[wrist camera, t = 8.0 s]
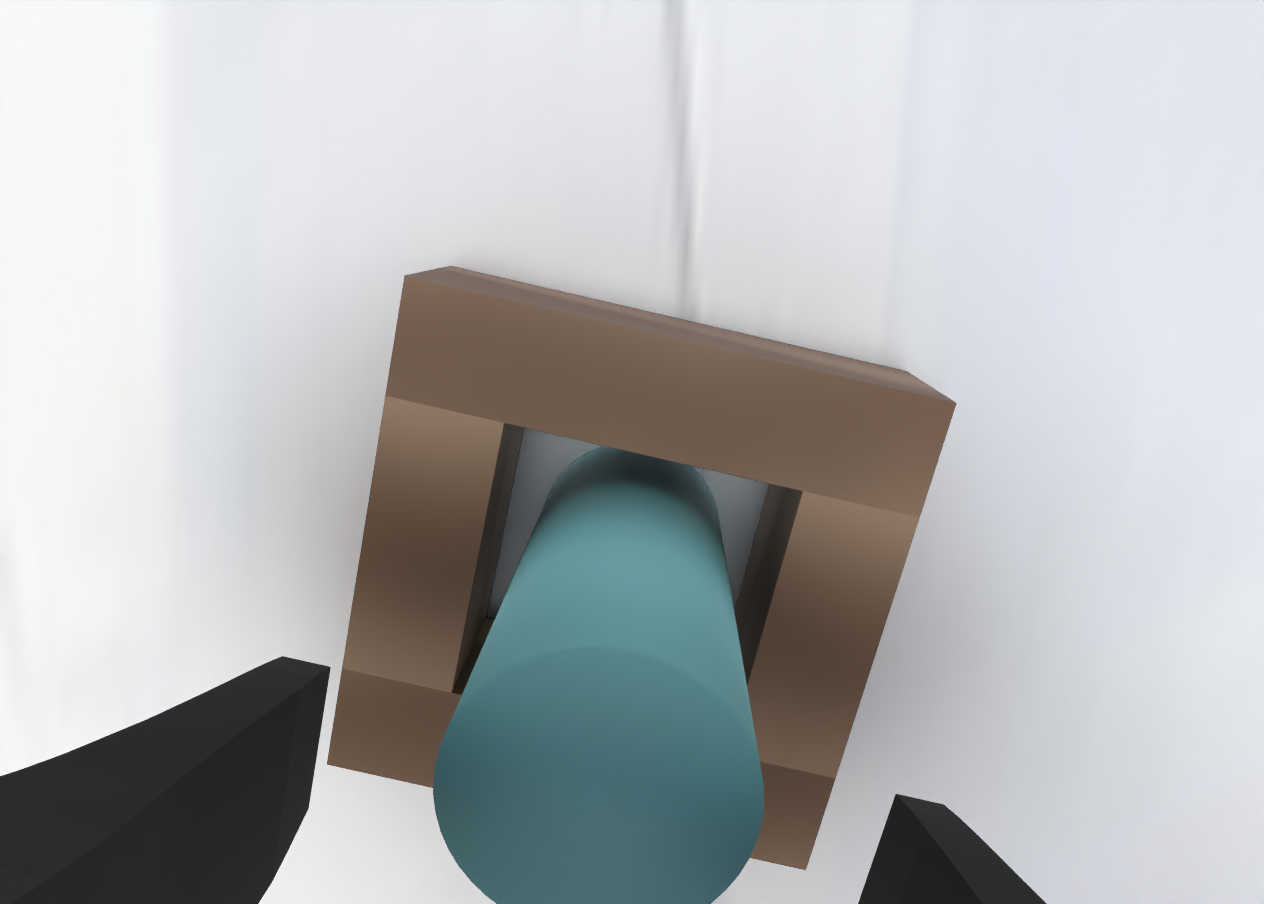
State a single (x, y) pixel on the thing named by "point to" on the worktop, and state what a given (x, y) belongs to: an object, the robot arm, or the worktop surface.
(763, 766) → the socket block
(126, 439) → the worktop surface
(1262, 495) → the worktop surface
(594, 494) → the peg
